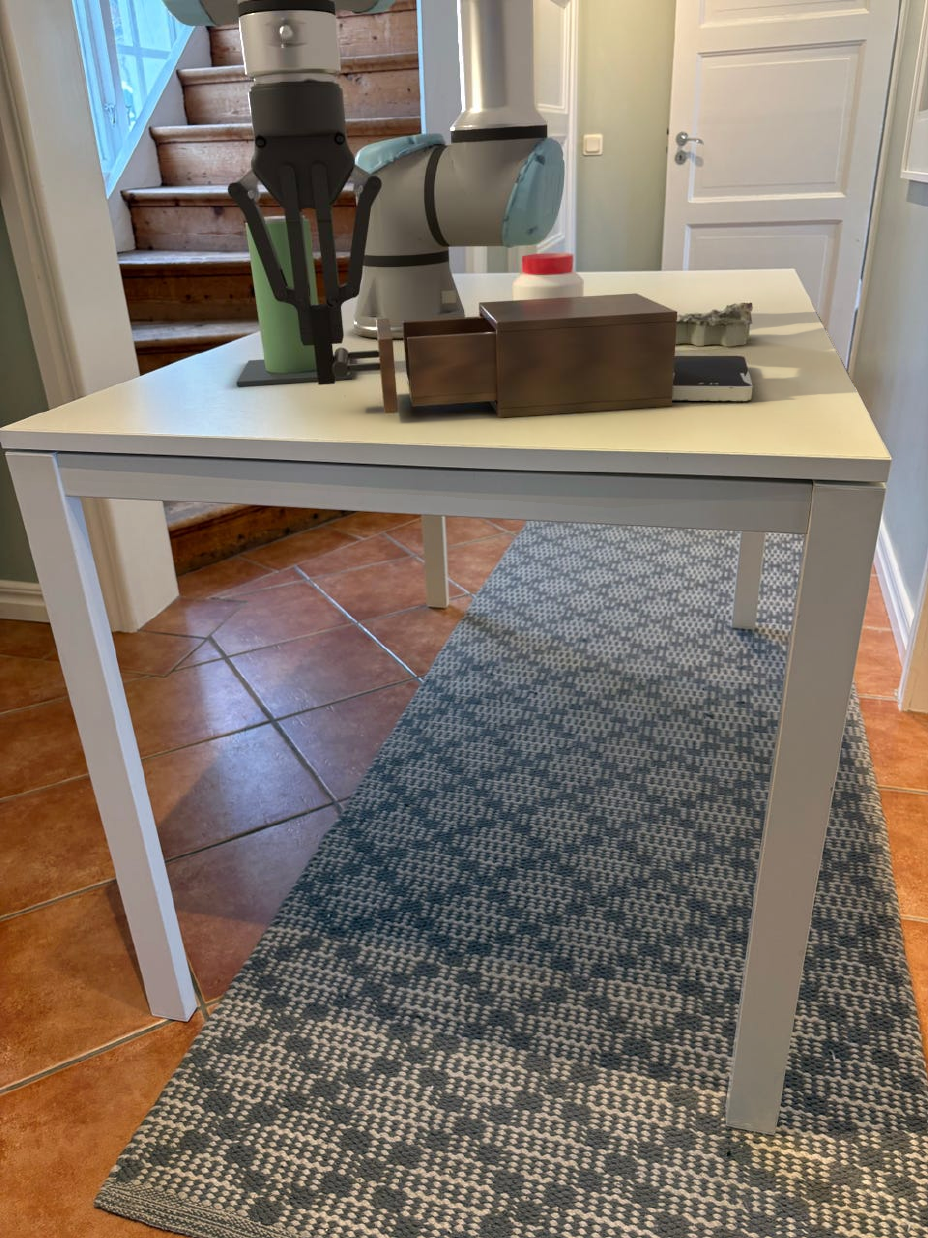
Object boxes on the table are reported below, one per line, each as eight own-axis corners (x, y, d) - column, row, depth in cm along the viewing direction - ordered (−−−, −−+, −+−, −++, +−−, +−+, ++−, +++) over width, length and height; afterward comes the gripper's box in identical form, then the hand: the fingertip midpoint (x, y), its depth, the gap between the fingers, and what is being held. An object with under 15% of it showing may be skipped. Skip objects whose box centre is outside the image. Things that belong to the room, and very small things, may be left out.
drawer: (336, 416, 78) (328, 342, 75) (338, 388, 88) (331, 321, 85) (548, 402, 79) (548, 328, 77) (526, 376, 90) (525, 310, 87)
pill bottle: (579, 368, 96) (581, 258, 91) (508, 368, 98) (506, 259, 93) (585, 354, 103) (587, 250, 98) (518, 354, 104) (517, 252, 99)
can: (268, 363, 103) (248, 217, 96) (326, 359, 104) (310, 214, 97) (263, 375, 97) (241, 220, 90) (324, 371, 98) (307, 217, 91)
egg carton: (753, 337, 108) (757, 301, 106) (743, 348, 102) (747, 311, 100) (666, 333, 112) (668, 299, 110) (651, 344, 106) (653, 308, 104)
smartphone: (744, 355, 92) (753, 387, 79) (742, 368, 93) (751, 402, 80) (668, 355, 94) (665, 386, 81) (667, 368, 95) (664, 401, 82)
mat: (249, 364, 106) (248, 360, 106) (351, 358, 107) (350, 353, 106) (236, 386, 95) (236, 381, 95) (350, 379, 96) (349, 374, 96)
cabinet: (498, 417, 79) (496, 322, 75) (481, 386, 90) (478, 302, 86) (671, 406, 80) (677, 311, 76) (633, 376, 91) (636, 293, 88)
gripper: (204, 81, 68) (250, 394, 78) (376, 74, 69) (399, 385, 79) (218, 88, 74) (259, 376, 85) (375, 82, 75) (396, 368, 86)
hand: (327, 380), depth 82 cm, fingers closed
